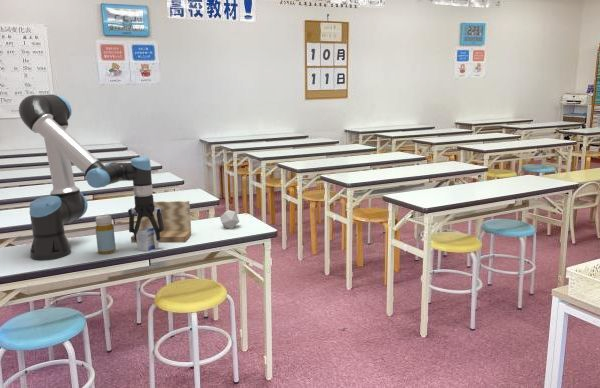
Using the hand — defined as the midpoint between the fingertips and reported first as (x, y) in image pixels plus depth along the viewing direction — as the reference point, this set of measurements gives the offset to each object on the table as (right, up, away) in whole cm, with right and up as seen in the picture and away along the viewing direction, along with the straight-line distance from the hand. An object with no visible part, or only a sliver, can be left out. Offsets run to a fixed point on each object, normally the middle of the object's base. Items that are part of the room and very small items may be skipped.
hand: (148, 247), depth 216 cm
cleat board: (+2, +3, +14) cm, 14 cm away
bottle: (-16, -1, -3) cm, 17 cm away
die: (+31, +6, +31) cm, 44 cm away
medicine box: (0, -1, 0) cm, 1 cm away
